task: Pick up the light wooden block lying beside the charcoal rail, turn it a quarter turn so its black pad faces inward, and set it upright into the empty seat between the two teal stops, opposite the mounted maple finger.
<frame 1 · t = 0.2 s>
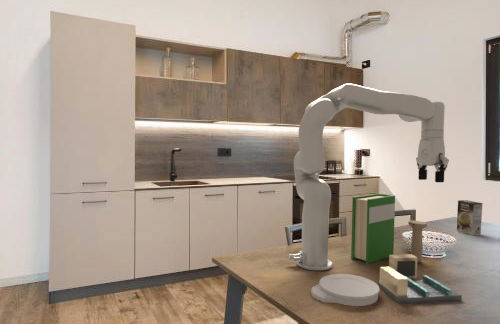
hand: (430, 180, 132), 31 cm above the table, tool pointing down, fingers open, 9 cm apart
handle: (416, 261, 133), on the table
hardback book: (372, 257, 138), on the table
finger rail: (417, 293, 104), on the table
light wooden block: (402, 276, 117), on the table
lid: (344, 295, 103), on the table
coffee box: (468, 233, 179), on the table
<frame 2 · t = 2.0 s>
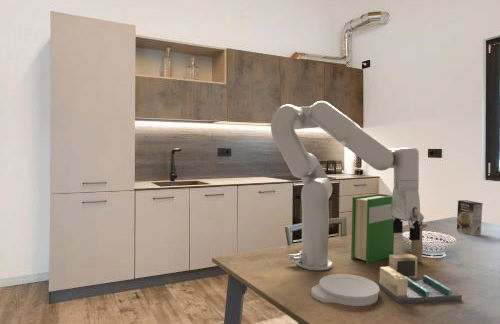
hand: (405, 236, 116), 14 cm above the table, tool pointing down, fingers open, 9 cm apart
nothing on the table moved.
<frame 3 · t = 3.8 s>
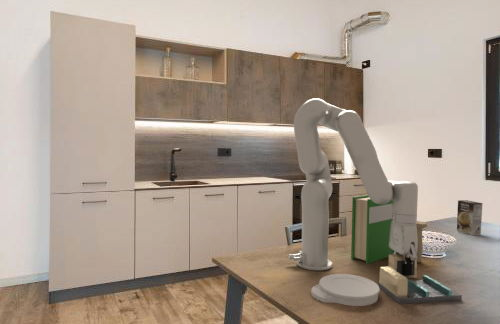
hand: (402, 272, 117), 1 cm above the table, tool pointing down, fingers closed on light wooden block, 3 cm apart
light wooden block: (402, 276, 118), on the table, touching gripper
everything else where it was.
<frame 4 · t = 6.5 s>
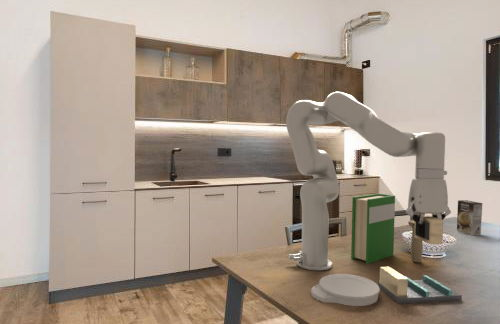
hand: (427, 235, 104), 17 cm above the table, tool pointing down, fingers closed on light wooden block, 3 cm apart
light wooden block: (427, 240, 104), point 16 cm above the table, touching gripper
everything else where it was.
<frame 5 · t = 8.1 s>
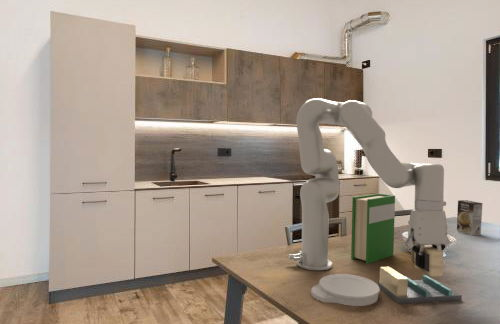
hand: (427, 266, 104), 8 cm above the table, tool pointing down, fingers closed on light wooden block, 3 cm apart
light wooden block: (428, 271, 104), point 7 cm above the table, touching gripper
everything else where it was.
when the fingers open (4 cm above the table, at t = 9.2 s): light wooden block stays where it is, resting on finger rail.
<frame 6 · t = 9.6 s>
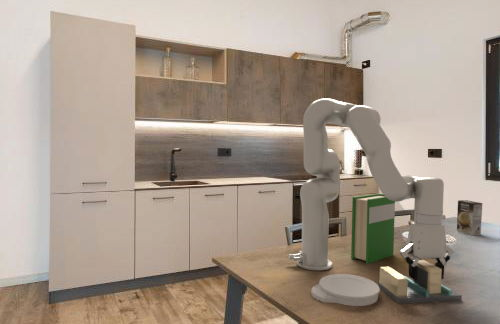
hand: (426, 277, 104), 5 cm above the table, tool pointing down, fingers open, 7 cm apart
light wooden block: (426, 287, 104), point 1 cm above the table, touching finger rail
everything else where it was.
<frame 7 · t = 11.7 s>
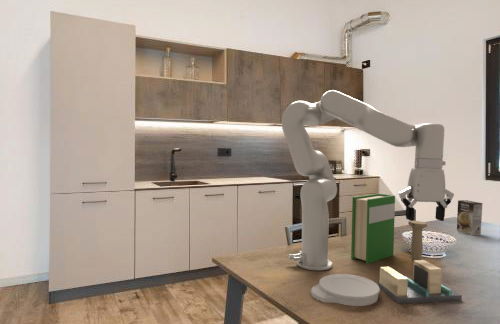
hand: (424, 219, 108), 21 cm above the table, tool pointing down, fingers open, 9 cm apart
nothing on the table moved.
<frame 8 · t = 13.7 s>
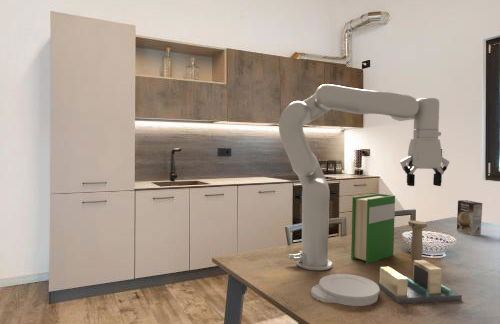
hand: (423, 185, 119), 30 cm above the table, tool pointing down, fingers open, 9 cm apart
nothing on the table moved.
at the end: light wooden block 0.2 cm from the target spot on the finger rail, point 1.5 cm above the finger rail's base; light wooden block tilted 0°; the gripper is holding nothing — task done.
